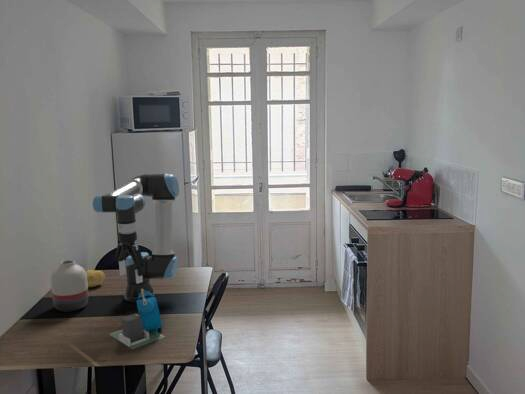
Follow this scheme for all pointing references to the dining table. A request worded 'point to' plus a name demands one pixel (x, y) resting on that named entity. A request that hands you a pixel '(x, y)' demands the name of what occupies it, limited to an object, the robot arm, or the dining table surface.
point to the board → (151, 338)
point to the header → (127, 341)
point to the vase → (69, 287)
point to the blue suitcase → (149, 311)
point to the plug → (132, 327)
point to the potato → (94, 277)
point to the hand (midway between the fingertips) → (131, 278)
